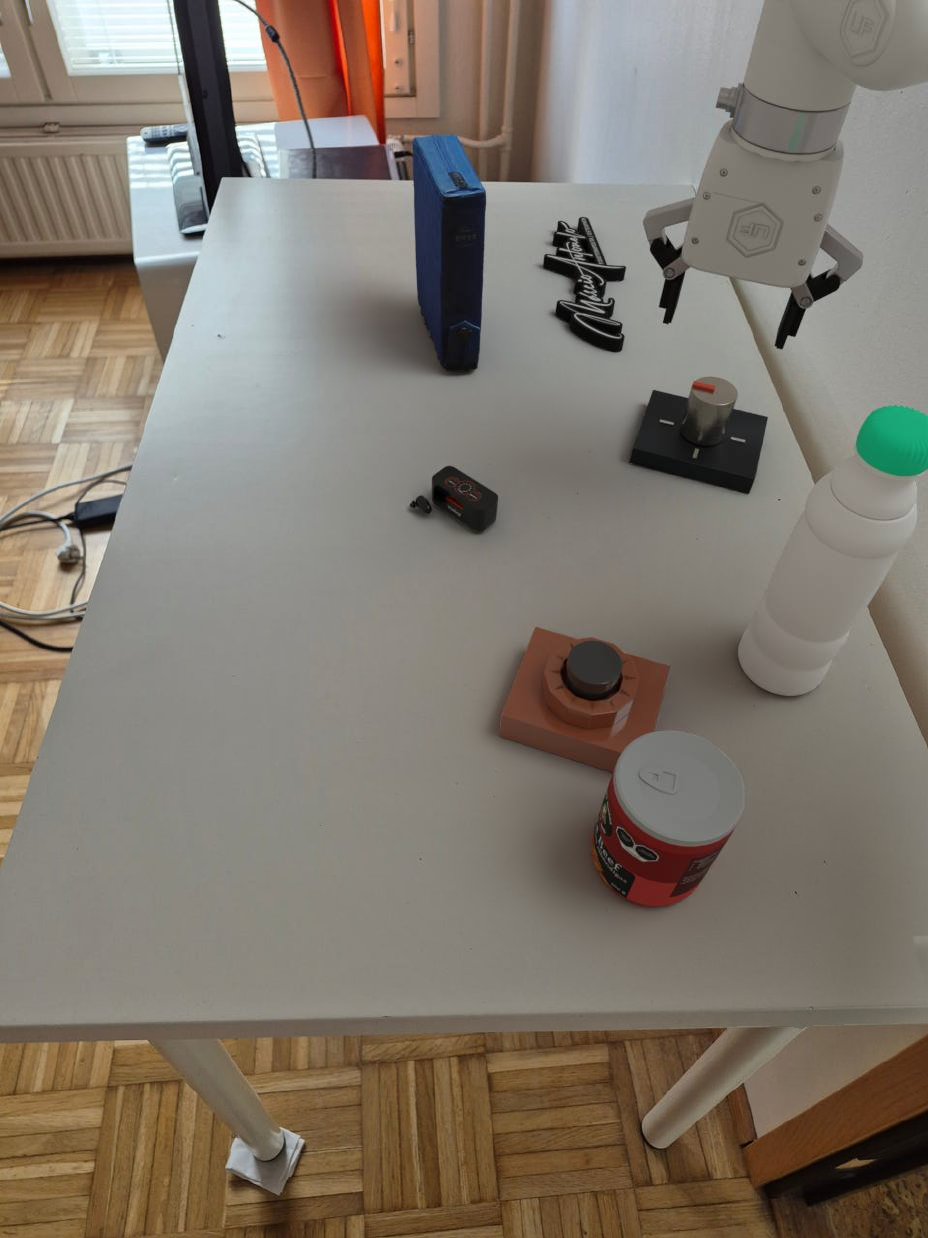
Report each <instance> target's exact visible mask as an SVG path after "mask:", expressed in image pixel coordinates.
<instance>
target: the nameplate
mask: <svg viewBox="0 0 928 1238" xmlns="http://www.w3.org/2000/svg"><path fill="white" fill-rule="evenodd" d="M552 246H553V247H556V250H555V254H551V253H545V254H544V255H543V263H542V264H543V265H542V268H543V269H544V270H547V271H550V272H553V273H556V274H560V275H562V276H565V277H568V278H571V279H573V281H574V286H573V287H574V288H573V294H574V295H575V298H574V301H570V300H565V299H559V300H557V301H556V304H555V305H556V306H555V316H556V317H557V318H559V319H560V320H562V321H563V322H566V323H567V324H569V327H568V328H569V330H570V331H571V332H572V333H573V335H575V336H577V337H578V338H579V339H581V340H582V341H584V342H587V343H588V344H590V345H592V346H594V347H595V348H598V349H601V350H605V351H608V352H613V353H620V352H621V351H622V350H623V349H624V348H623V347H624V343H625V338H626V337H625V335H624V333H622V331H623V327H624V324H623V323H622V322H621V321H618V320H614V319H611V318H612V317H613V315H614V310H615V304H616V300H615V298H613V297H608V298H607V302H605V301H604V299H603V298H604V296H605V294H606V289H607V288H606V287H607V282H622V281H624V280H625V276H626V270H627V266H626V265H613V264H608V263H607V261H606V258H605V256H604V254H603V251H602V248H601V246H600V243H599V241H598V239H597V237H596V233H595V232H594V229H593V226H592V223H591V221H590V219H589V218H588V217H586V216H580V217H578V221H577V227H576V228H573V227H571V226H570V225H569V224H568V222H566V221H564V220H558V221H557V227H556V231H554V232H553V237H552Z"/></svg>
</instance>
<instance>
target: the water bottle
mask: <svg viewBox="0 0 928 1238" xmlns="http://www.w3.org/2000/svg"><path fill="white" fill-rule="evenodd" d="M853 449H854V450H853V451H854V452H853V453H854V455H853V456H851V457H849V458H847V459H845V460H844V461H842V462H840V464H839V465H838V466H837V467H835V468H834V469H832V470H831V471H829V472H828V473H826V474H825V475H824V476H822V477H821V478H819V480H817V482H816V483H814V485H813V486H812V488H810V489H811V490H810V491H809V493H808V495H807V498H806V500H805V504H804V510H803V511H802V513H801V515H800V517H799V518H798V520H797V522H796V523H795V525H794V527H793V529H792V531H791V532H790V535H789V536H788V539H787V541H786V543H785V545H784V547H783V549H782V551H781V553H780V556H779V558H778V560H777V562H776V564H775V567H774V569H773V572H772V574H771V578H770V580H769V583H768V587H767V589H766V591H764V593H763V594H762V596H761V597H760V599H759V601H758V603H757V604H756V607H755V610H754V612H753V616H752V619H751V621H750V622H749V624H748V625H747V627H746V629H745V630H744V632H743V634H742V637H741V638H740V641H739V644H738V648H737V656H738V662H739V664H740V667H741V669H742V671H743V673H745V675H746V676H747V678H748V679H749V680H750V681H752V683H754V684H755V685H757V686H758V687H760V688H761V689H763V690H765V691H767V692H769V693H772V694H775V695H779V696H785V697H787V696H788V697H794V696H795V697H796V696H801V695H805V694H808V693H810V692H812V691H813V690H815V689H816V688H817V687H819V685H820V684H821V682H823V680H824V679H825V676H826V675H827V673H828V671H829V669H830V668H831V665H832V663H833V661H834V658H835V657H836V656H837V655H838V654H839V653H840V652H841V650H842V648H843V646H844V645H845V643H846V642H847V640H848V638H849V636H850V633H851V630H852V628H853V626H854V625H855V624H856V623H857V622H858V620H859V619H860V618H861V616H862V615H863V613H864V612H865V610H866V609H867V608H868V607H869V605H870V603H871V602H872V600H873V598H874V597H875V595H876V593H877V592H878V591H879V589H880V587H881V586H882V584H883V582H884V580H885V579H886V577H887V575H888V574H889V571H890V569H891V568H892V566H893V564H894V562H895V560H896V558H897V557H898V553H899V552H900V550H902V548H904V547H905V545H906V544H907V543H908V542H909V541H910V539H911V538H912V536H913V535H914V532H915V529H916V526H917V522H918V506H917V505H918V504H917V496H918V488H917V483H916V482H917V481H916V479H919V478H921V477H922V476H923V475H924V474H925V473H926V471H928V415H926V413H924V412H921V411H920V410H918V409H917V410H916V409H915V408H912V407H911V408H910V407H909V406H904V405H887V406H882V407H879V408H876V409H874V410H872V411H871V412H870V413H869V415H867V417H866V418H865V420H864V421H863V423H862V424H861V427H860V429H859V430H858V433H857V436H856V439H855V444H854V448H853Z"/></svg>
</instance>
